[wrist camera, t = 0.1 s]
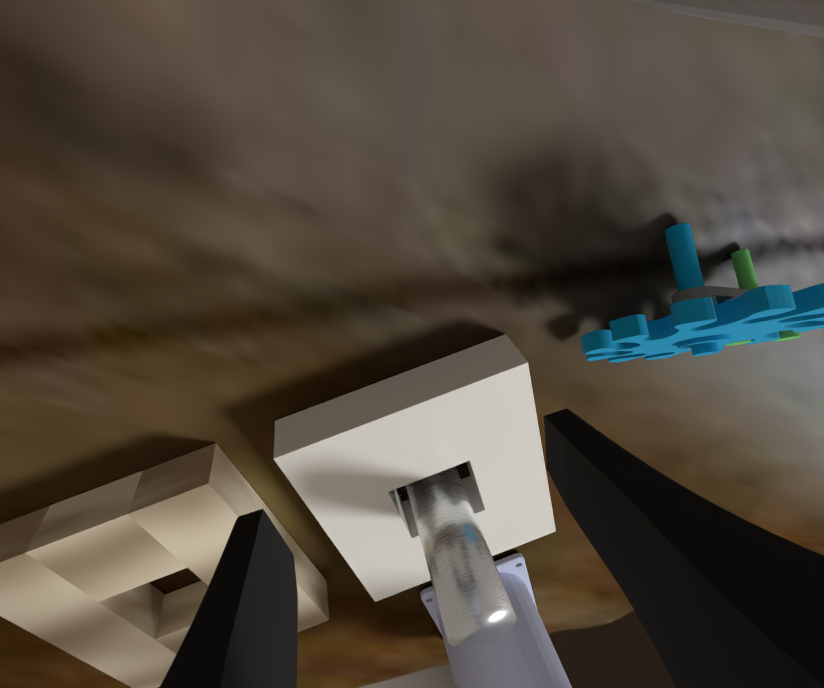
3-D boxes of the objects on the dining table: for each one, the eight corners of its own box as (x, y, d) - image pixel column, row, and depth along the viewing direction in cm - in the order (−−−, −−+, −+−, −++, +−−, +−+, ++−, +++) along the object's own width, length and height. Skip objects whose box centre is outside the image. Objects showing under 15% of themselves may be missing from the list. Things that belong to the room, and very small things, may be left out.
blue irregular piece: (539, 375, 22) (767, 318, 13) (522, 261, 23) (720, 138, 14) (687, 371, 26) (930, 327, 18) (666, 276, 28) (883, 190, 19)
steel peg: (457, 472, 27) (520, 630, 19) (410, 490, 27) (456, 656, 19) (445, 439, 25) (510, 599, 18) (395, 458, 25) (439, 627, 18)
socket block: (537, 498, 30) (555, 531, 28) (369, 564, 30) (375, 601, 28) (505, 334, 22) (527, 362, 20) (274, 420, 22) (273, 458, 20)
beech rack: (326, 581, 30) (329, 619, 28) (152, 648, 29) (142, 693, 27) (215, 442, 22) (208, 483, 20) (-25, 533, 21) (-59, 584, 19)
